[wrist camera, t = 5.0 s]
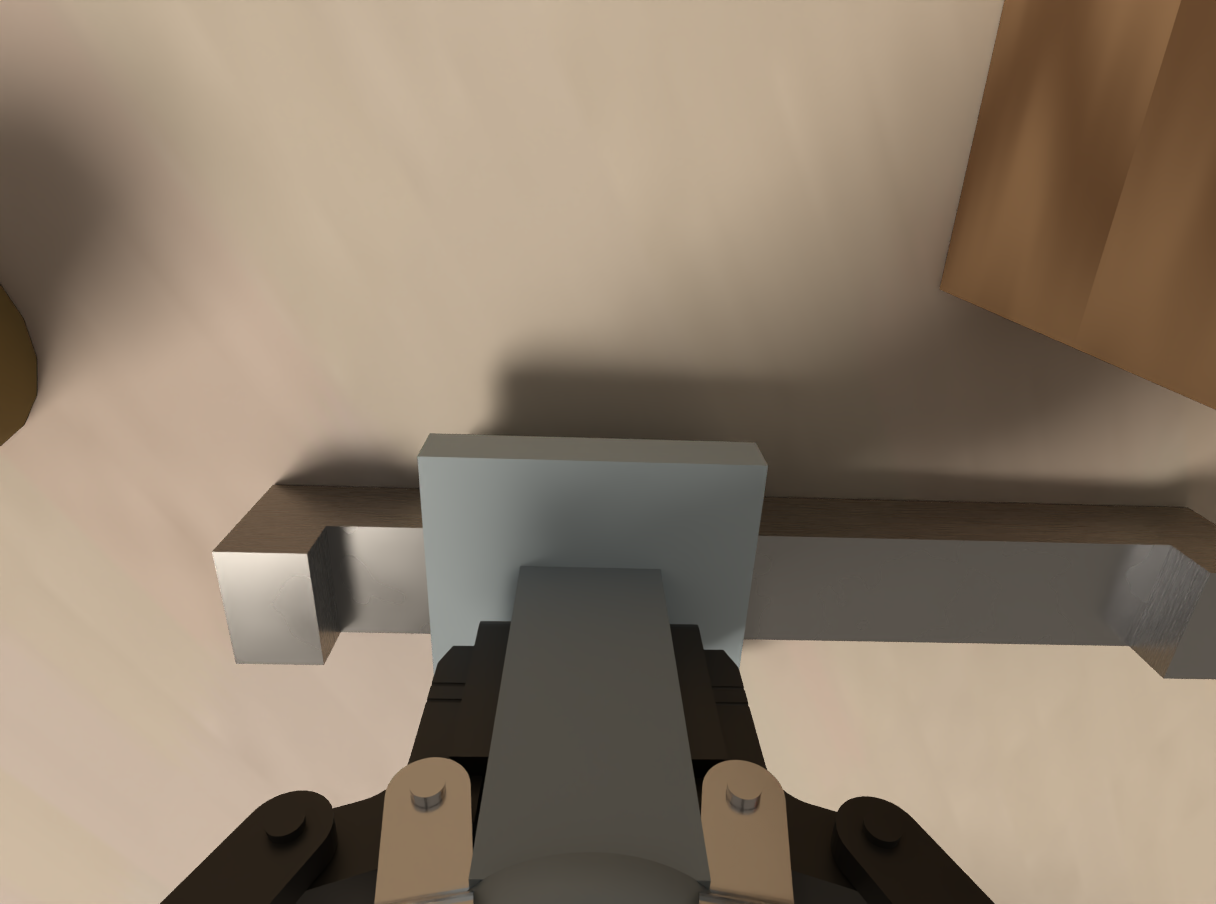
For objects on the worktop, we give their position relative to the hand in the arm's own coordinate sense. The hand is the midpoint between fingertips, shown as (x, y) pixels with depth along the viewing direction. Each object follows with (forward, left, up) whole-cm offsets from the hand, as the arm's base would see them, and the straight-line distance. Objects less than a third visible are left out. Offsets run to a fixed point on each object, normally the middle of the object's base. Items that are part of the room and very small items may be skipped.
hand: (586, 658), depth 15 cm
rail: (0, +4, -5) cm, 6 cm away
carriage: (0, 0, -5) cm, 5 cm away
